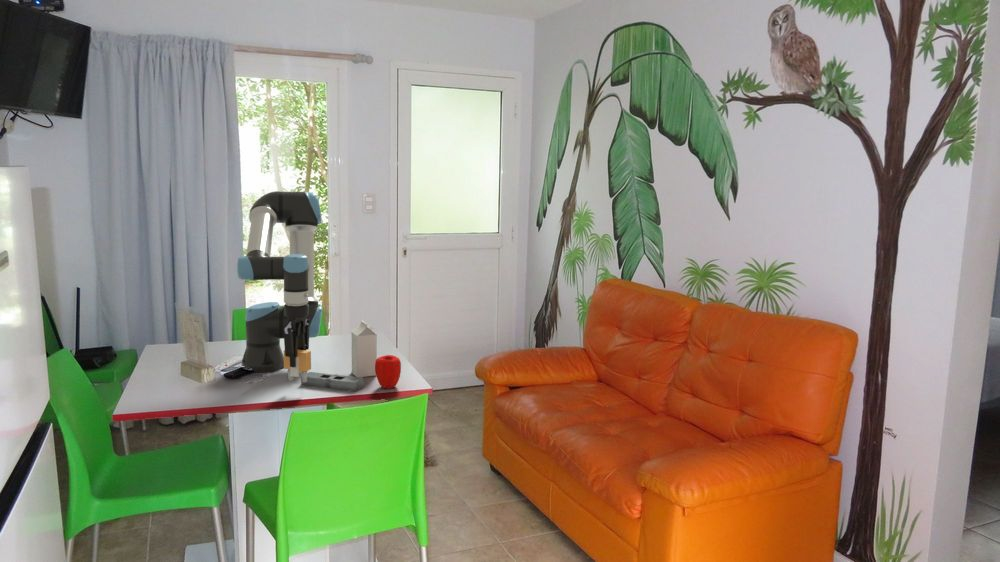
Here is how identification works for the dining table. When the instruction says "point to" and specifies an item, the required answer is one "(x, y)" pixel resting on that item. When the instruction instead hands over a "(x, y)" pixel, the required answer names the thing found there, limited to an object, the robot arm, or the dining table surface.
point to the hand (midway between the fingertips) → (297, 374)
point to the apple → (388, 370)
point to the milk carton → (364, 350)
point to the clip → (303, 363)
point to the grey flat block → (333, 381)
